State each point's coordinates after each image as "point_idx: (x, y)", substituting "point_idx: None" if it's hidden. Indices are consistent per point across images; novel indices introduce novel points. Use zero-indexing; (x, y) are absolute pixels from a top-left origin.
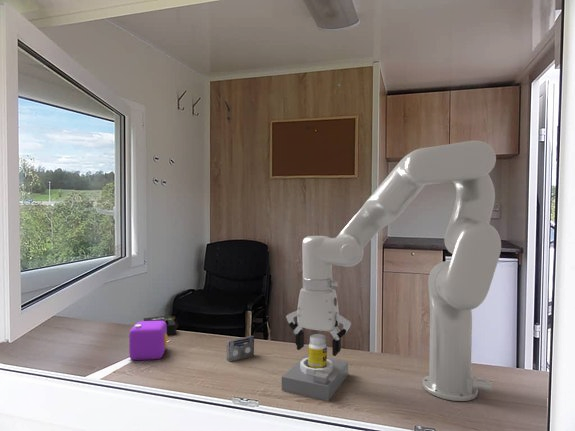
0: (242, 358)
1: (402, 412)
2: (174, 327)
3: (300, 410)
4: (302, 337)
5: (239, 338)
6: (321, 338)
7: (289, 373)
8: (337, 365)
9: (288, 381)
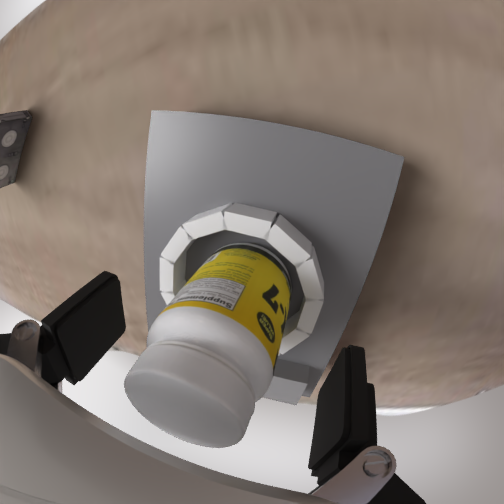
0: (21, 149)
1: (481, 363)
2: None
3: None
4: (82, 331)
5: None
6: (221, 445)
7: None
8: (346, 222)
9: None
